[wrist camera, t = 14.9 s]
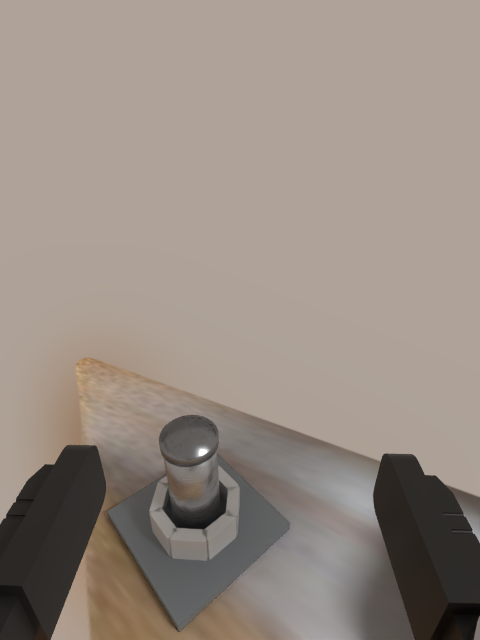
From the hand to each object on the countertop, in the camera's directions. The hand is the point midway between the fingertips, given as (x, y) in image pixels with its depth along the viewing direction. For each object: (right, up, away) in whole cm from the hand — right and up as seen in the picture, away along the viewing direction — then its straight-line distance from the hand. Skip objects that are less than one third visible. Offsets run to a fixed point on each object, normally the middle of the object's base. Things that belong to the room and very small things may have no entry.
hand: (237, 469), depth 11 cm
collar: (-5, -18, +30) cm, 35 cm away
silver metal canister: (-4, -17, +30) cm, 34 cm away
